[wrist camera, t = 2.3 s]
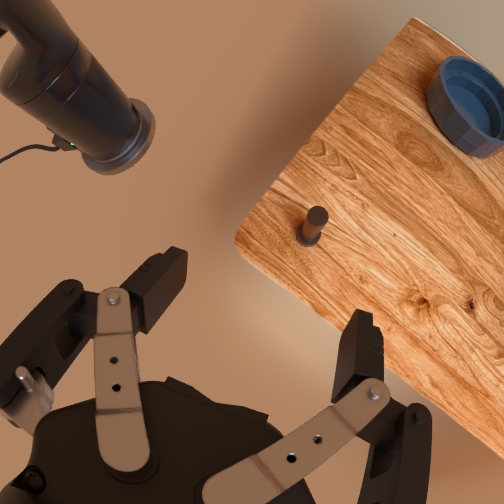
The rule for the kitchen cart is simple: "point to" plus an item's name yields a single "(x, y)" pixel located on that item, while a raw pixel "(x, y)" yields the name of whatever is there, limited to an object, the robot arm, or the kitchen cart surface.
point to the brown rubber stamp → (312, 226)
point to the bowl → (468, 106)
